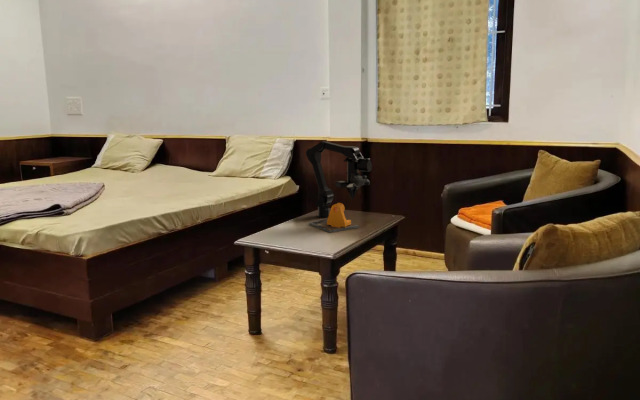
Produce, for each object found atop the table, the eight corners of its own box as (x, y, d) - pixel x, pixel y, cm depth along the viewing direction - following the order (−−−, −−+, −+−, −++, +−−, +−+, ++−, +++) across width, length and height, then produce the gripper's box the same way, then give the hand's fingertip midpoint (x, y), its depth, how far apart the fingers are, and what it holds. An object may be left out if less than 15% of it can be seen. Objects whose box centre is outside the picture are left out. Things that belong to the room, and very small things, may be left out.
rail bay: (308, 224, 270) (308, 222, 270) (336, 220, 279) (336, 217, 278) (330, 232, 252) (329, 230, 252) (358, 227, 261) (358, 225, 261)
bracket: (351, 225, 267) (351, 202, 264) (345, 228, 261) (344, 205, 258) (334, 223, 272) (333, 201, 270) (327, 226, 266) (326, 203, 264)
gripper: (346, 173, 261) (346, 203, 264) (375, 170, 270) (375, 199, 273) (334, 170, 271) (334, 199, 274) (363, 168, 280) (363, 196, 283)
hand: (352, 198), depth 276 cm, fingers closed
